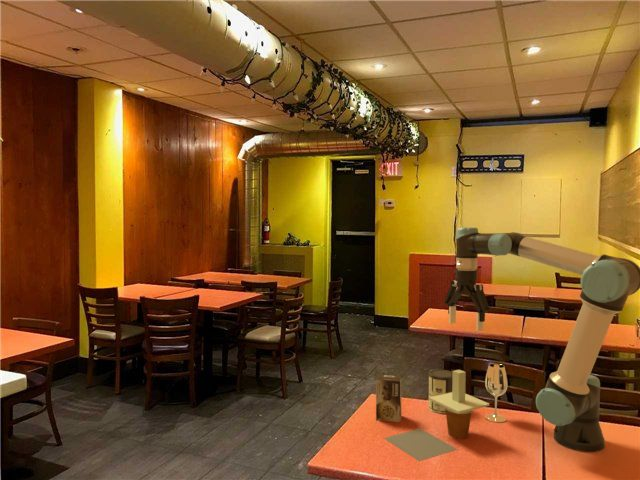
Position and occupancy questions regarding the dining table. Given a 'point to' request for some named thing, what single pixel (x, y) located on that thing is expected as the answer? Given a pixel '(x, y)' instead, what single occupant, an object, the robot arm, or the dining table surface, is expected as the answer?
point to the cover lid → (458, 396)
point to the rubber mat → (420, 444)
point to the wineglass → (496, 388)
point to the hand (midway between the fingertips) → (465, 326)
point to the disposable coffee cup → (458, 423)
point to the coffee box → (388, 398)
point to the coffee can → (439, 387)
